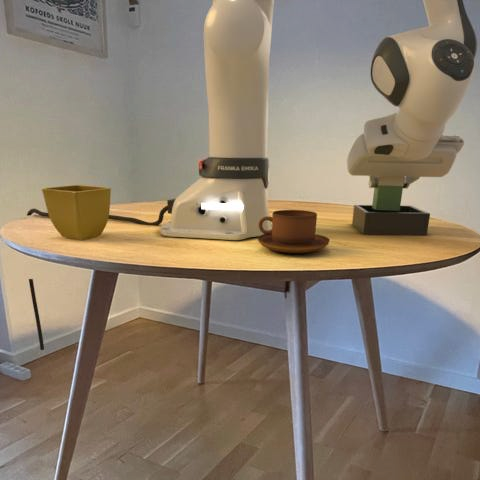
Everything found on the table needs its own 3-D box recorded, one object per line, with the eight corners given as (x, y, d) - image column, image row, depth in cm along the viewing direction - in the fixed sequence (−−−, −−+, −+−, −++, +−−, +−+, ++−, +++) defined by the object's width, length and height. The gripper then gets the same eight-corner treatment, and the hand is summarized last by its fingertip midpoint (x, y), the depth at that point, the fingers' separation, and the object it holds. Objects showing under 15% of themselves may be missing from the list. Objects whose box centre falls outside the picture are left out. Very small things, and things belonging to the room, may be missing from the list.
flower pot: (116, 235, 90) (112, 187, 86) (82, 243, 82) (76, 191, 79) (82, 231, 94) (77, 184, 90) (47, 238, 86) (40, 188, 83)
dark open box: (363, 234, 93) (365, 212, 92) (352, 224, 104) (354, 204, 102) (426, 235, 93) (430, 213, 91) (409, 225, 104) (411, 205, 102)
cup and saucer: (258, 257, 74) (259, 218, 72) (256, 242, 85) (257, 207, 83) (334, 258, 74) (337, 219, 72) (322, 242, 85) (324, 208, 83)
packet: (375, 210, 98) (381, 164, 94) (371, 207, 101) (376, 164, 98) (400, 210, 97) (406, 165, 94) (395, 208, 101) (401, 164, 98)
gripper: (464, 123, 87) (432, 174, 100) (357, 121, 86) (338, 172, 99) (472, 149, 85) (438, 198, 97) (361, 147, 83) (341, 197, 96)
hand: (387, 185), depth 98 cm, fingers closed on packet, 5 cm apart
